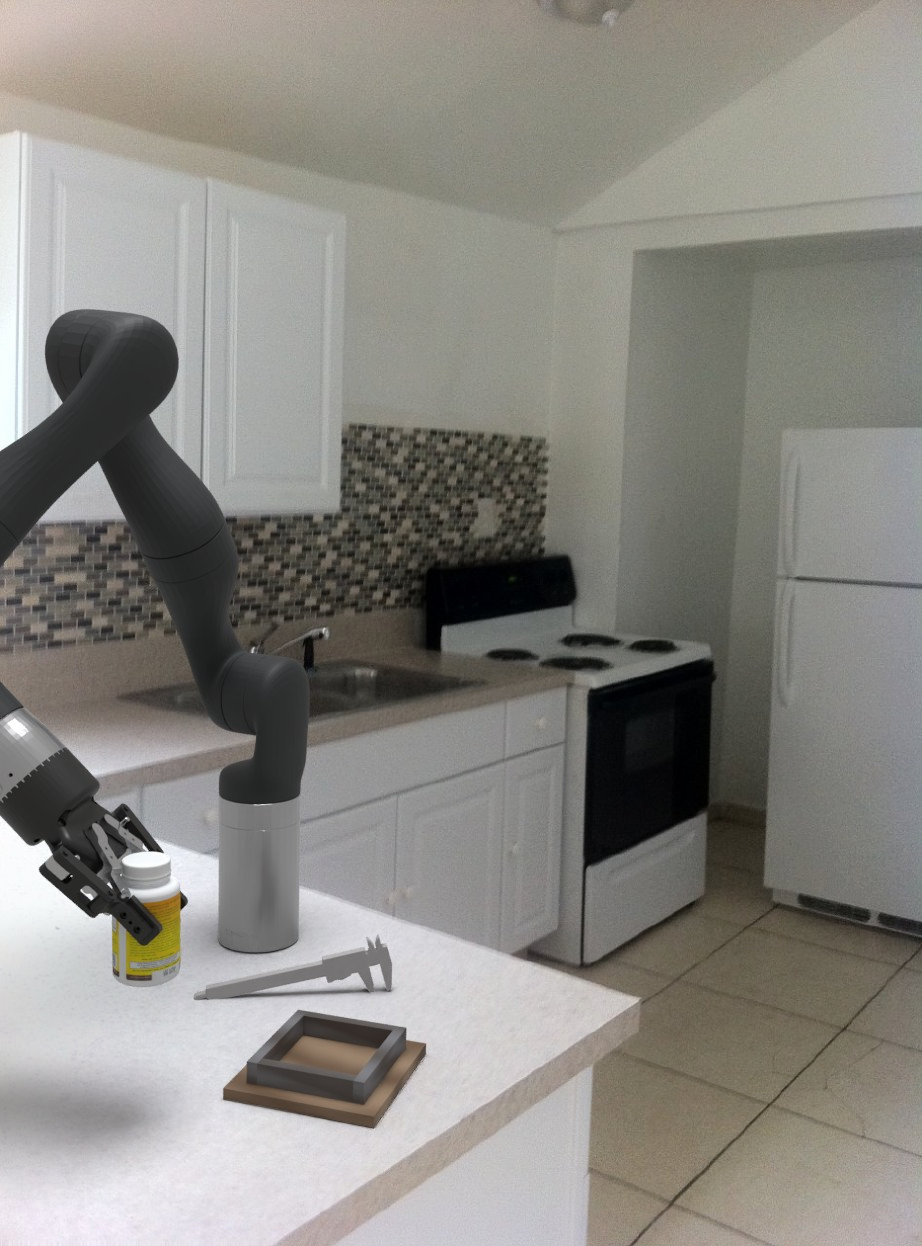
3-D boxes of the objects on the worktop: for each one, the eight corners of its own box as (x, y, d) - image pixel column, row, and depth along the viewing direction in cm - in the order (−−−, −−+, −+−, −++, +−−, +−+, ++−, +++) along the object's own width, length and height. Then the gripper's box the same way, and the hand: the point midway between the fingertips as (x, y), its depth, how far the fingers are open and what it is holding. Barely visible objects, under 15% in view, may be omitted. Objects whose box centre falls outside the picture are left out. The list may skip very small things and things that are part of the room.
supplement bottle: (194, 974, 106) (194, 857, 104) (142, 996, 101) (142, 875, 100) (150, 956, 109) (150, 843, 107) (98, 977, 104) (97, 859, 103)
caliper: (390, 989, 133) (391, 933, 132) (391, 994, 132) (392, 937, 131) (194, 998, 129) (194, 940, 129) (193, 1003, 128) (193, 944, 127)
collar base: (289, 1030, 122) (290, 1000, 122) (425, 1053, 118) (426, 1023, 118) (223, 1099, 109) (223, 1066, 109) (373, 1127, 105) (374, 1094, 105)
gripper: (18, 768, 96) (168, 928, 97) (94, 727, 110) (225, 867, 111) (-46, 830, 98) (103, 988, 98) (37, 782, 112) (167, 920, 112)
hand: (167, 923), depth 104 cm, fingers closed on supplement bottle, 5 cm apart
